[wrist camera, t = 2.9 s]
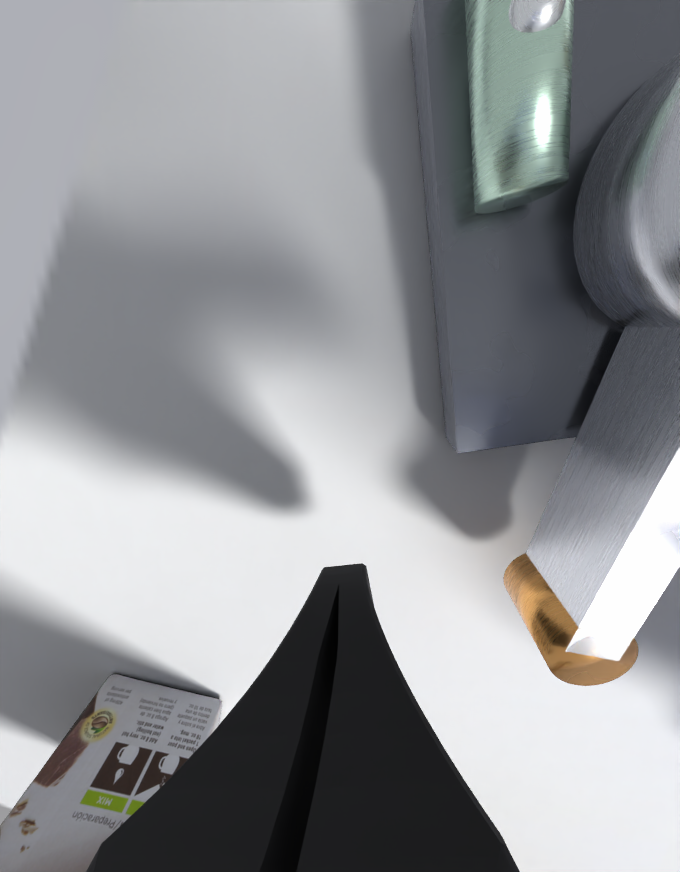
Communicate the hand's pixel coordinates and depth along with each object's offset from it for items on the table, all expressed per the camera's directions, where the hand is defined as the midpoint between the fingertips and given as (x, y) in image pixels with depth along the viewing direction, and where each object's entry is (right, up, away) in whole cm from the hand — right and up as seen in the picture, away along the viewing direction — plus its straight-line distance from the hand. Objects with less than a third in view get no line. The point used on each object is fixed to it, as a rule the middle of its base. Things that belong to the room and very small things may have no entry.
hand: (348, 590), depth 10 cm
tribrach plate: (+8, +11, -1) cm, 14 cm away
